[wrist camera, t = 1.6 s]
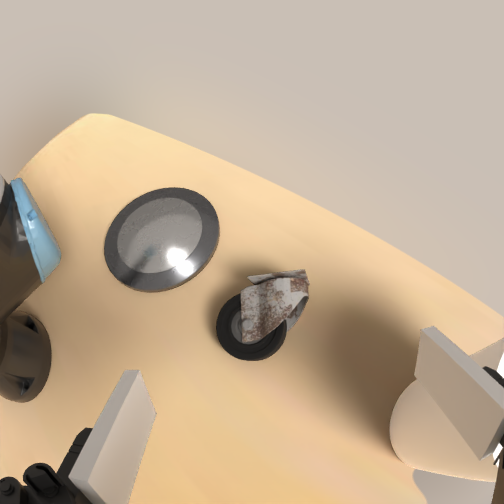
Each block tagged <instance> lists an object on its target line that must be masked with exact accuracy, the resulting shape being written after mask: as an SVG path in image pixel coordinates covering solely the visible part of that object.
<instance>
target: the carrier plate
mask: <svg viewBox="0 0 504 504" xmlns="http://www.w3.org/2000/svg"><path fill="white" fill-rule="evenodd" d="M219 236H220V227H219V221H218V217H217V214H216V211H215V209H214V207H213V206H212V205H211V203H210V202H209V201H208V200H207V199H206V198H205V197H203V196H202V195H201V194H199V193H197V192H195V191H192V190H189V189H184V188H163V189H158V190H154V191H151V192H149V193H146V194H144V195H142V196H140V197H138V198H136V199H135V200H133V201H132V202H131V203H129V204H128V205H127V206H126V207H125V208H124V209H123V210H122V211H121V212H120V213H119V214H118V215H117V216H116V218H115V219H114V221H113V222H112V224H111V226H110V228H109V230H108V233H107V236H106V240H105V246H104V252H105V259H106V262H107V265H108V267H109V269H110V271H111V272H112V274H113V275H114V276H115V277H116V278H117V279H118V280H119V281H120V282H121V283H122V284H124V285H125V286H127V287H129V288H131V289H133V290H137V291H141V292H162V291H167V290H170V289H173V288H176V287H178V286H181V285H183V284H184V283H186V282H188V281H190V280H191V279H192V278H194V277H195V276H196V275H197V274H198V273H200V272H201V271H202V270H203V269H204V267H205V266H206V265H207V264H208V263H209V261H210V260H211V258H212V257H213V255H214V252H215V250H216V248H217V245H218V242H219Z"/></svg>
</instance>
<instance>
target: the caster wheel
mask: <svg viewBox="0 0 504 504" xmlns="http://www.w3.org/2000/svg"><path fill="white" fill-rule="evenodd" d="M247 278H248V279H249V280H250V281H251V282H252V283H253V284H254V285H253V286H248V287H246V288H244V289H243V290H241V294H238V295H236V296H234V297H232V298H231V299H230V300H229V301H227V303H226V304H225V305H224V306H223V307H222V309H221V311H220V313H219V315H218V319H217V325H216V330H217V336H218V339H219V342H220V344H221V345H222V347H223V348H224V349H225V351H227V352H228V353H229V354H230V355H232V356H234V357H236V358H238V359H241V360H247V361H258V360H263V359H266V358H268V357H270V356H272V355H273V354H274V353H275V352H277V351H278V349H279V348H280V347H281V345H282V344H283V342H284V340H285V337H286V333H287V331H289V330H290V329H291V328H292V327H293V326H294V325H295V323H296V322H297V320H298V319H299V317H300V316H301V314H302V312H303V310H304V308H305V305H306V303H307V301H308V299H309V294H308V285H310V283H309V281H308V278H307V275H306V272H305V270H294V271H286V272H278V273H270V274H262V275H254V276H248V277H247Z"/></svg>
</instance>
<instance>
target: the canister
mask: <svg viewBox="0 0 504 504" xmlns="http://www.w3.org/2000/svg"><path fill="white" fill-rule="evenodd" d="M469 357H470V358H471V359H473V360H474V361H475V362H476V363H477V364H478V365H479V366H480V367H481V368H483V367H485V366H487V367H489V368H491V369H494V370H496V371H497V372H498V373H499V374H500V375H501V376H502V377H503V378H504V338H503V339H501V340H499V341H497V342H495V343H493V344H491V345H490V346H488V347H486V348H484V349H482V350H480V351H478V352H476V353H474V354H472V355H470V356H469ZM390 440H391V444H392V447H393V450H394V452H395V453H396V455H397V456H398V458H399V459H400V460H401V461H402V462H403V463H405V464H406V465H408V466H410V467H412V468H416V469H420V470H424V471H429V472H433V473H438V474H443V475H448V476H454V477H460V478H466V479H473V480H480V481H489V482H496V478H497V472H498V466H499V460H498V462H497V463H496V465H493V464H494V461H495V459H496V458H497V456H498V455H499V453H500V451H501V450H502V448H503V447H502V446H501V445H500V443H499V444H498V446H497V448H496V450H495V451H494V453H493V454H491V455H489V456H488V457H486V458H485V459H483V460H481V461H479V459H478V458H477V457H476V455H475V454H474V452H473V451H472V450H471V448H470V447H469V446H468V444H467V443H466V442H465V440H464V439H463V437H462V436H461V435H460V433H459V432H458V431H457V429H456V428H455V427H454V426H453V424H452V423H451V422H450V420H449V419H448V418H447V416H446V415H445V414H444V412H443V411H442V410H441V409H440V407H439V406H438V405H437V403H436V402H435V401H434V400H433V398H432V397H431V396H430V394H429V393H428V392H427V391H426V389H425V388H424V387H423V386H422V384H421V383H420V382H419V381H418V379H416V380H415V381H413V382H412V383H411V384H410V385H409V386H408V387H407V388H406V389H405V390H404V391H403V392H402V394H401V395H400V397H399V398H398V400H397V402H396V404H395V406H394V409H393V412H392V415H391V420H390Z"/></svg>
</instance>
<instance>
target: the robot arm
mask: <svg viewBox="0 0 504 504" xmlns="http://www.w3.org/2000/svg"><path fill="white" fill-rule="evenodd" d="M60 259H61V251H60V248H59V245H58V243H57V241H56V239H55V237H54V235H53V233H52V231H51V230H50V228H49V226H48V224H47V222H46V220H45V218H44V217H43V215H42V213H41V211H40V209H39V207H38V205H37V204H36V202H35V200H34V198H33V196H32V194H31V193H30V191H29V189H28V187H27V186H26V184H25V183H24V182H23V180H22V179H21V178H17V179H15V180H12V181H11V183H10V184H8V183H7V182H6V181H5V180H4V178H3V177H2V176H1V175H0V395H1V396H2V397H4V398H6V399H8V400H11V401H15V402H20V403H23V402H28V401H30V400H32V399H34V398H35V397H36V396H37V395H38V394H39V393H40V392H41V390H42V389H43V387H44V385H45V383H46V381H47V378H48V375H49V371H50V366H51V345H50V340H49V337H48V334H47V332H46V330H45V328H44V326H43V325H42V324H41V322H40V321H38V320H37V319H36V318H34V317H33V316H31V315H29V314H28V313H25V312H22V311H16V310H15V309H16V308H17V307H18V306H19V305H20V304H21V303H22V302H23V301H24V300H25V299H26V298H27V297H28V296H29V295H30V294H31V293H32V292H33V291H34V290H35V289H37V288H38V287H39V286H40V285H41V284H43V283H44V282H45V279H46V278H47V277H48V276H49V274H50V273H51V272H52V271H53V270H54V269H55V268H56V267H57V266H58V264H59V263H60ZM414 376H415V377H416V378H417V379H418V381H419V382H420V383H421V384H422V386H423V387H424V388H425V389H426V391H427V392H428V393H429V394H430V396H431V397H432V398H433V400H434V401H435V402H436V403H437V405H438V406H439V407H440V409H441V410H442V411H443V412H444V414H445V415H446V416H447V418H448V419H449V420H450V422H451V423H452V424H453V426H454V427H455V428H456V429H457V431H458V432H459V433H460V435H461V436H462V437H463V439H464V440H465V442H466V443H467V444H468V446H469V447H470V448H471V450H472V451H473V452H474V454H475V455H476V457H477V458H478V459H479V461H481V460H483V459H485V458H486V457H488V456H489V455H491V454H493V453H494V451H495V450H496V448H497V446H498V444H499V443H500V445H501V446H502V447H503V448H502V450H501V451H500V453H499V455H498V456H497V458H496V459H495V461H494V464H493V465H496V463H497V462H498V460H499V466H498V472H497V478H496V485H495V490H494V494H493V499H492V503H491V504H504V378H503V377H502V376H501V375H500V374H499V373H498V372H497V371H496V370H494V369H491V368H489V367H487V366H485V367H483V368H481V367H480V366H479V365H478V364H477V363H476V362H475V361H474V360H473V359H471V358H470V357H469V356H468V355H467V354H466V353H465V352H463V351H462V350H461V349H460V348H459V347H458V346H457V345H455V344H454V343H453V342H452V341H451V340H450V339H449V338H447V337H446V336H445V335H444V334H443V333H442V332H440V331H439V330H438V329H437V328H436V327H434V326H431V327H428V328H424V329H421V334H420V342H419V349H418V355H417V362H416V368H415V373H414ZM156 414H157V413H156V411H155V408H154V406H153V404H152V401H151V399H150V396H149V393H148V391H147V388H146V386H145V383H144V380H143V377H142V375H141V372H140V370H125V371H124V373H123V375H122V377H121V378H120V380H119V382H118V384H117V385H116V387H115V389H114V391H113V393H112V394H111V396H110V398H109V400H108V402H107V403H106V405H105V407H104V409H103V411H102V413H101V414H100V416H99V418H98V420H97V422H96V424H95V426H94V428H85V429H84V430H82V431H81V432H80V433H79V434H78V435H77V436H76V438H75V440H74V442H73V445H71V447H70V449H69V453H67V455H66V456H65V458H64V460H63V462H62V464H61V466H60V468H59V469H58V471H57V473H55V471H54V470H53V469H52V468H51V467H50V466H49V465H47V464H45V463H35V464H33V465H31V466H29V467H28V468H27V469H26V470H25V472H24V475H23V481H24V482H25V483H26V484H27V485H28V486H22V485H21V484H20V482H19V481H18V480H17V479H15V478H13V477H5V478H2V479H1V480H0V504H128V503H129V499H130V496H131V492H132V489H133V486H134V482H135V479H136V476H137V473H138V469H139V466H140V463H141V460H142V457H143V454H144V450H145V447H146V444H147V441H148V438H149V435H150V432H151V429H152V426H153V423H154V420H155V417H156Z"/></svg>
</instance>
